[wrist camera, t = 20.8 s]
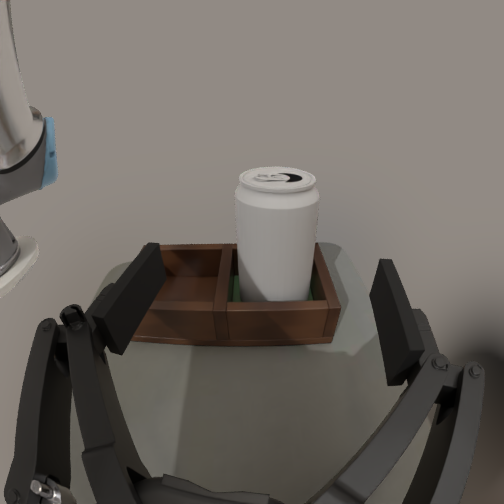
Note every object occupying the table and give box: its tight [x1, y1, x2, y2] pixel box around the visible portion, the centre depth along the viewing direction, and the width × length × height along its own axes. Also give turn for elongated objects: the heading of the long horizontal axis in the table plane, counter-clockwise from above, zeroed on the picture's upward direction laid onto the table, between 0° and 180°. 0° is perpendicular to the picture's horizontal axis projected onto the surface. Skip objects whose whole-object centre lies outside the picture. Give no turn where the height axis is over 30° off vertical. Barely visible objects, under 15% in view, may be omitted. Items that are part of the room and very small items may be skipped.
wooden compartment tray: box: [130, 243, 341, 346], centre depth 26 cm, size 19×10×4 cm, turn 90°
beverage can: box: [235, 167, 320, 302], centre depth 23 cm, size 6×6×12 cm
